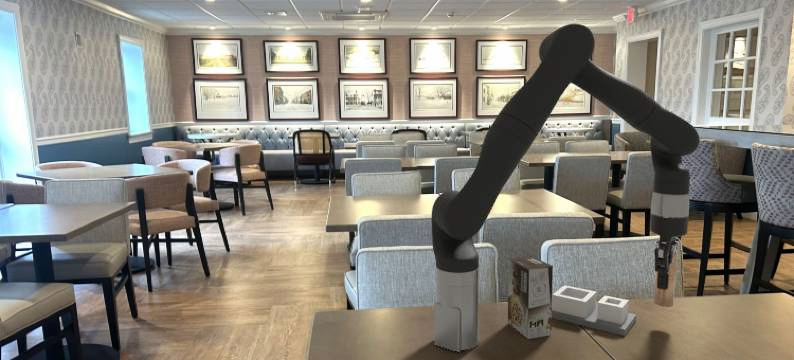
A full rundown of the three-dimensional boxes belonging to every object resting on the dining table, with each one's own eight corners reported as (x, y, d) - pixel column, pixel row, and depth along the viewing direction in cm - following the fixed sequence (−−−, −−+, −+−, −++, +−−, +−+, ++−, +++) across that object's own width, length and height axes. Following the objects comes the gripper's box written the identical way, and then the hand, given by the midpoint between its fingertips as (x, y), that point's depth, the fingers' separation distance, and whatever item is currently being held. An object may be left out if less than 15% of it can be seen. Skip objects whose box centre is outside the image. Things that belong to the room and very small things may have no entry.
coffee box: (552, 335, 113) (554, 266, 110) (527, 340, 111) (528, 269, 109) (530, 319, 121) (531, 254, 119) (506, 323, 119) (507, 257, 117)
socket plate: (624, 336, 112) (625, 312, 111) (550, 317, 122) (550, 295, 121) (636, 320, 119) (637, 298, 119) (565, 304, 130) (565, 284, 129)
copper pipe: (671, 308, 113) (675, 256, 111) (651, 304, 116) (655, 253, 114) (674, 302, 116) (678, 252, 114) (655, 298, 119) (659, 249, 117)
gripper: (658, 205, 121) (653, 274, 123) (643, 215, 110) (639, 291, 112) (693, 209, 116) (688, 280, 118) (682, 220, 105) (676, 298, 107)
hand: (664, 285), depth 115 cm, fingers closed on copper pipe, 4 cm apart
